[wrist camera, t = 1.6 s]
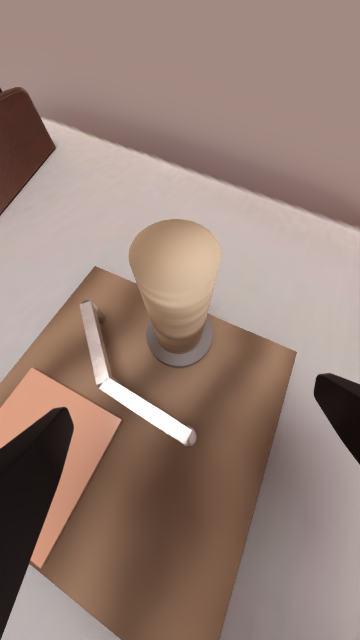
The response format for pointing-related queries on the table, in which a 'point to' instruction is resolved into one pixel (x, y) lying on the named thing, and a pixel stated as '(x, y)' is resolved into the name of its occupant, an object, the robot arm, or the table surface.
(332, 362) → the table surface
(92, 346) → the bent metal bar
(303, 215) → the table surface
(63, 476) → the pad
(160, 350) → the peg
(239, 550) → the board
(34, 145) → the letter holder
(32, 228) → the table surface
